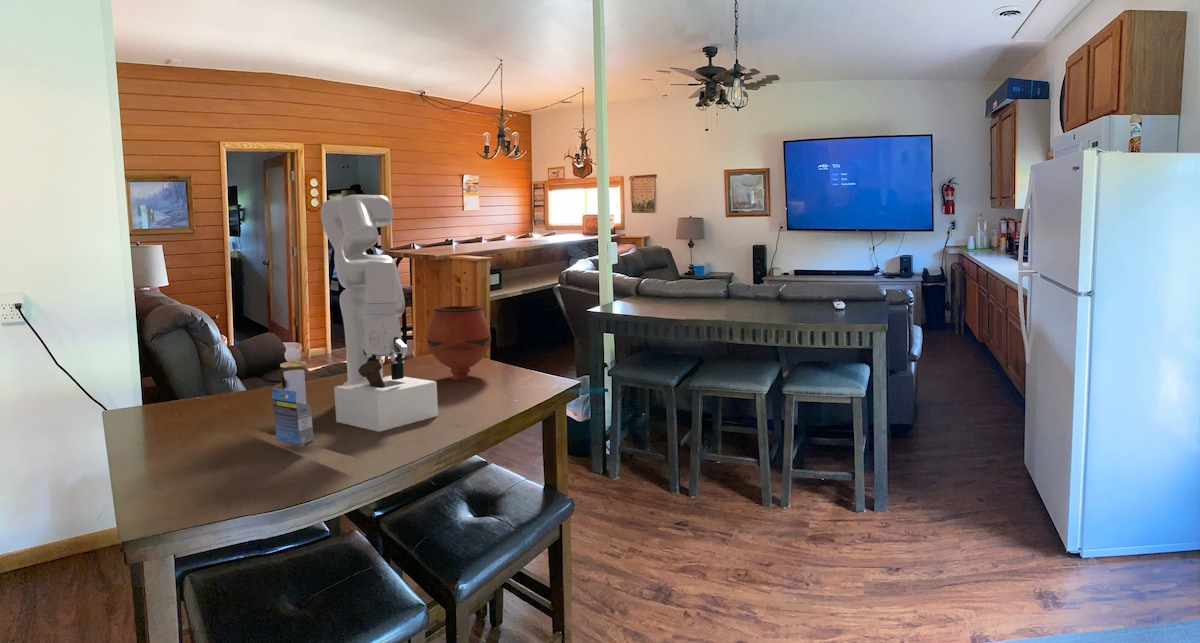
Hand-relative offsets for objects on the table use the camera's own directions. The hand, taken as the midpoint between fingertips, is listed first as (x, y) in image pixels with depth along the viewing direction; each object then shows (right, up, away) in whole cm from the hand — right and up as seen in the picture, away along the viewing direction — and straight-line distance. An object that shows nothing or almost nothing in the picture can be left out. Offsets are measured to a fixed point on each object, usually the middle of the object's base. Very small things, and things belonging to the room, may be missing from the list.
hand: (385, 377), depth 175 cm
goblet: (+11, -6, +40) cm, 42 cm away
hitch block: (0, -11, +1) cm, 11 cm away
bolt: (+1, -10, +3) cm, 11 cm away
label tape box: (-15, -13, -17) cm, 27 cm away
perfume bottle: (-19, -12, -7) cm, 24 cm away
